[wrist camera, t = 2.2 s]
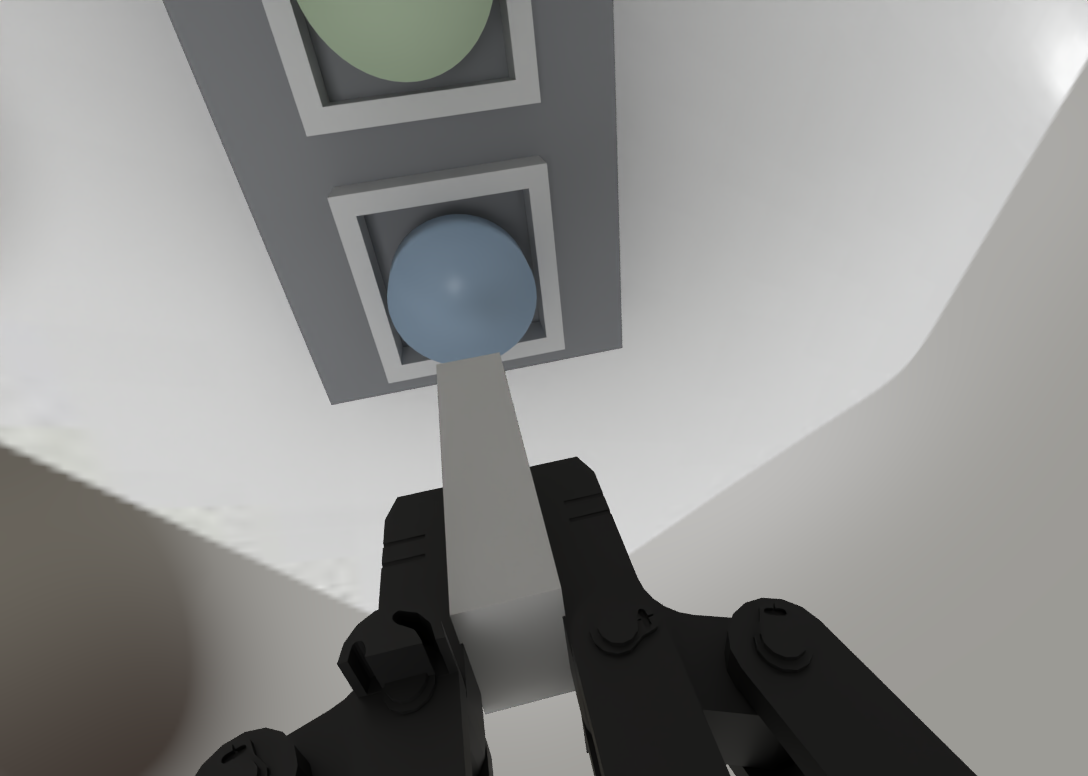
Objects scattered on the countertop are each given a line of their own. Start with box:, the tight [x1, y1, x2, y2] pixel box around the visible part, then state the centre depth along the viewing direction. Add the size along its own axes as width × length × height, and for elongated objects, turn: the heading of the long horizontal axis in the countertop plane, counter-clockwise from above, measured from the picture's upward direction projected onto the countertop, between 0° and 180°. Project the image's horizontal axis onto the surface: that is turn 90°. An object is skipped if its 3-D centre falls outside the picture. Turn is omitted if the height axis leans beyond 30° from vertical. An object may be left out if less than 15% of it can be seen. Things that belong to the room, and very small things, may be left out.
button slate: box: [387, 214, 537, 363], centre depth 18 cm, size 5×5×2 cm
